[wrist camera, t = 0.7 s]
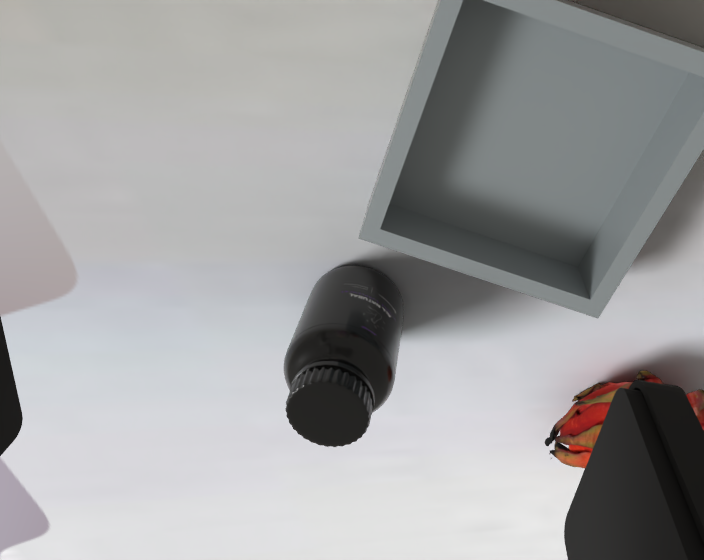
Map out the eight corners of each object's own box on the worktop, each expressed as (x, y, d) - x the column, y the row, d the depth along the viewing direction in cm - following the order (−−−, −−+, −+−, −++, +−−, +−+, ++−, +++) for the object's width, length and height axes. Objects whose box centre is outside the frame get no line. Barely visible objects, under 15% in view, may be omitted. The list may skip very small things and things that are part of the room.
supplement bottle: (400, 258, 42) (385, 366, 32) (407, 341, 46) (396, 462, 35) (302, 263, 43) (257, 368, 33) (316, 343, 47) (279, 461, 36)
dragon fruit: (715, 391, 46) (546, 385, 50) (742, 356, 39) (541, 353, 43) (730, 512, 43) (547, 496, 47) (762, 500, 35) (542, 482, 39)
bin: (367, 205, 41) (358, 238, 36) (452, -41, 33) (453, -36, 29) (582, 277, 41) (598, 318, 37) (713, 51, 34) (753, 69, 29)
